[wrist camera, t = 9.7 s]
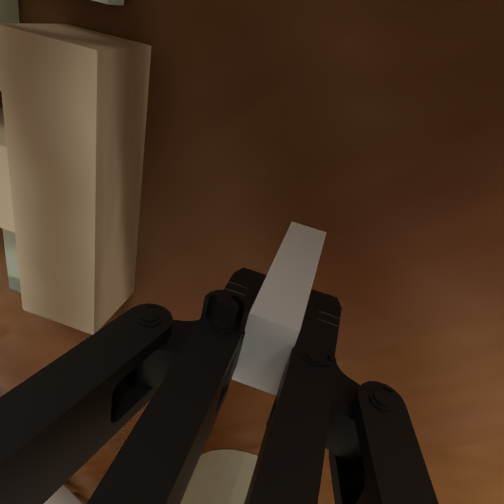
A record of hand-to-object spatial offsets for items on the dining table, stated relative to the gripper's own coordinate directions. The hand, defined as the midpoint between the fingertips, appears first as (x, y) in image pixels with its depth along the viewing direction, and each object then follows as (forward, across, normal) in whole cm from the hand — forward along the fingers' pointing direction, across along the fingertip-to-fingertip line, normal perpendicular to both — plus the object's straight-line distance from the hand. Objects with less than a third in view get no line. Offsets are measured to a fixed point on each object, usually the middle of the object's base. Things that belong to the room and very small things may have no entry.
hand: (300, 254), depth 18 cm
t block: (+2, -14, 0) cm, 15 cm away
